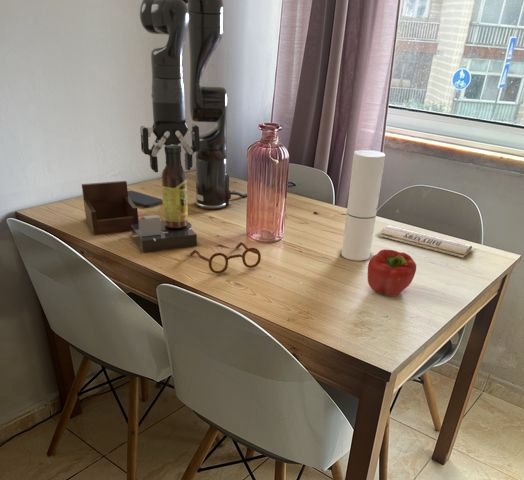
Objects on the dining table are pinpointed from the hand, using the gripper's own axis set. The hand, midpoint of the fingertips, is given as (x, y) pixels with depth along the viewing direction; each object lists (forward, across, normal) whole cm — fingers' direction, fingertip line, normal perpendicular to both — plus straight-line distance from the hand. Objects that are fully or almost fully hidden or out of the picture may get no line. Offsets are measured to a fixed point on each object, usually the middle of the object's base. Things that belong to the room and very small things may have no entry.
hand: (171, 170), depth 136 cm
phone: (+17, -2, +34) cm, 38 cm away
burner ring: (+14, 0, 0) cm, 14 cm away
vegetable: (+18, +34, -48) cm, 61 cm away
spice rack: (+17, -14, +14) cm, 26 cm away
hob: (+17, -4, -2) cm, 18 cm away
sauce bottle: (+14, 0, 0) cm, 14 cm away
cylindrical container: (+18, +40, -26) cm, 51 cm away
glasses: (+18, +6, -20) cm, 27 cm away
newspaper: (+18, +62, -26) cm, 70 cm away
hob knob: (+14, -7, -4) cm, 17 cm away
